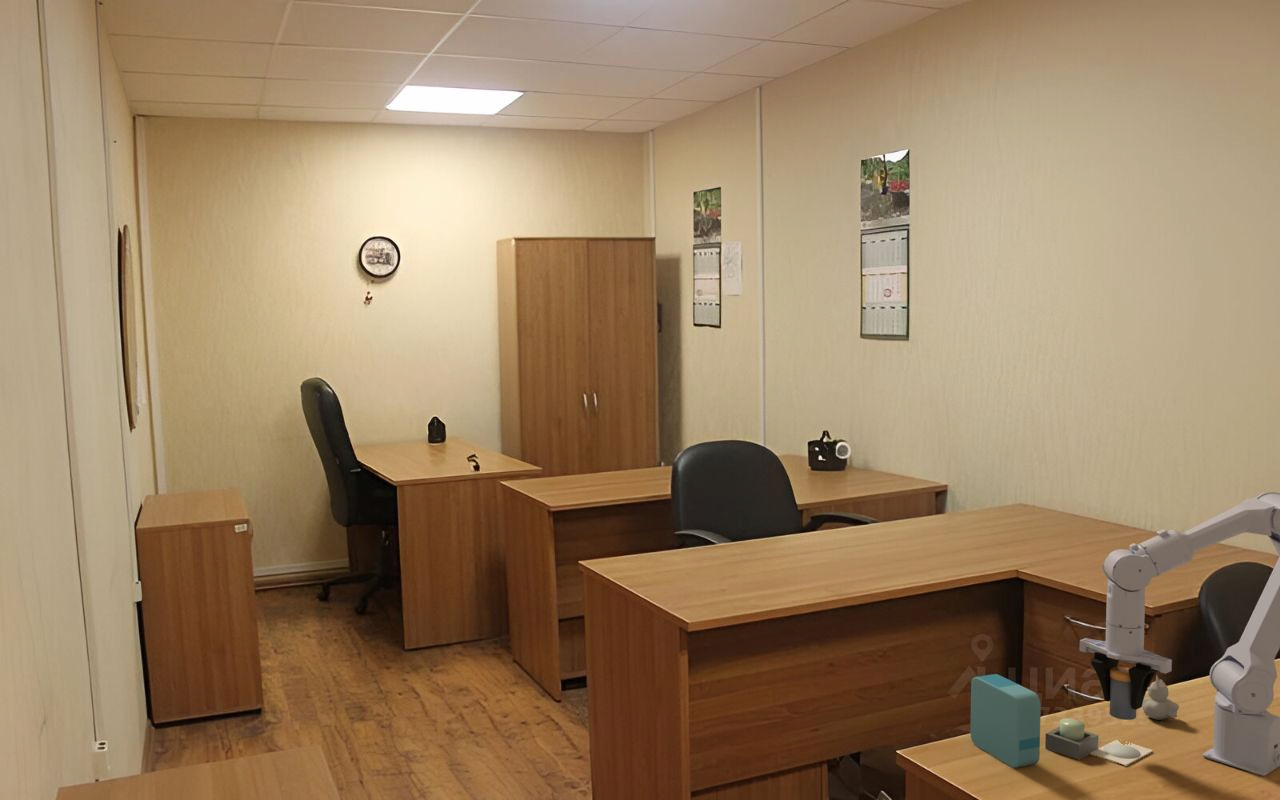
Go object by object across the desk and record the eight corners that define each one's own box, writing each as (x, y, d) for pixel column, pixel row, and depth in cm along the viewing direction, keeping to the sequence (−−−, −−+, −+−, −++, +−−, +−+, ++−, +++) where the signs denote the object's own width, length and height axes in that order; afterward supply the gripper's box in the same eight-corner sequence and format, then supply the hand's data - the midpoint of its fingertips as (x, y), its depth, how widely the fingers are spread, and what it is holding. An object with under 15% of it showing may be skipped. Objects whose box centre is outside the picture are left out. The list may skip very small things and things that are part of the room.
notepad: (1152, 752, 170) (1153, 749, 170) (1125, 766, 165) (1125, 764, 165) (1117, 740, 175) (1117, 738, 175) (1090, 754, 170) (1090, 752, 170)
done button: (1088, 740, 171) (1089, 723, 171) (1076, 746, 169) (1076, 729, 169) (1067, 733, 174) (1067, 716, 174) (1055, 739, 172) (1055, 722, 172)
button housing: (1098, 750, 171) (1098, 735, 171) (1079, 760, 168) (1079, 744, 167) (1064, 739, 176) (1064, 724, 176) (1045, 748, 172) (1045, 733, 172)
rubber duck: (1152, 710, 188) (1154, 668, 188) (1186, 722, 183) (1188, 679, 182) (1134, 716, 186) (1135, 673, 185) (1167, 728, 180) (1169, 684, 179)
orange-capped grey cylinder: (1141, 715, 169) (1142, 671, 169) (1129, 722, 167) (1131, 677, 166) (1115, 708, 173) (1117, 665, 172) (1104, 714, 170) (1105, 670, 169)
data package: (1040, 767, 165) (1041, 695, 164) (1017, 771, 164) (1018, 698, 163) (991, 738, 177) (992, 671, 176) (969, 742, 175) (970, 674, 174)
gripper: (1070, 618, 172) (1068, 696, 173) (1157, 638, 160) (1155, 722, 161) (1092, 610, 176) (1090, 687, 177) (1178, 630, 164) (1176, 712, 166)
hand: (1122, 703), depth 169 cm, fingers closed on orange-capped grey cylinder, 4 cm apart
